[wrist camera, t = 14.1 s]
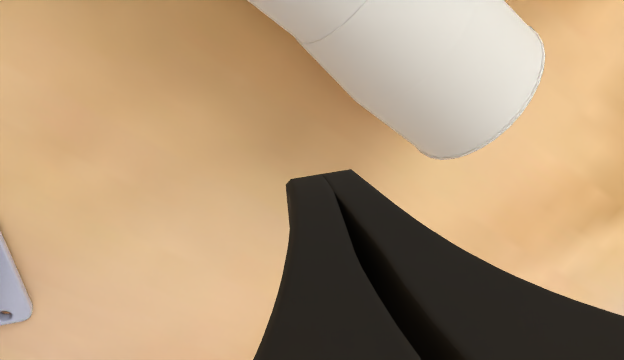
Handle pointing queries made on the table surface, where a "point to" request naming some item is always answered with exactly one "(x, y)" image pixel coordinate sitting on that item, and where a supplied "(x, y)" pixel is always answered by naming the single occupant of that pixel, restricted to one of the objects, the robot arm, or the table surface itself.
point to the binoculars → (423, 63)
